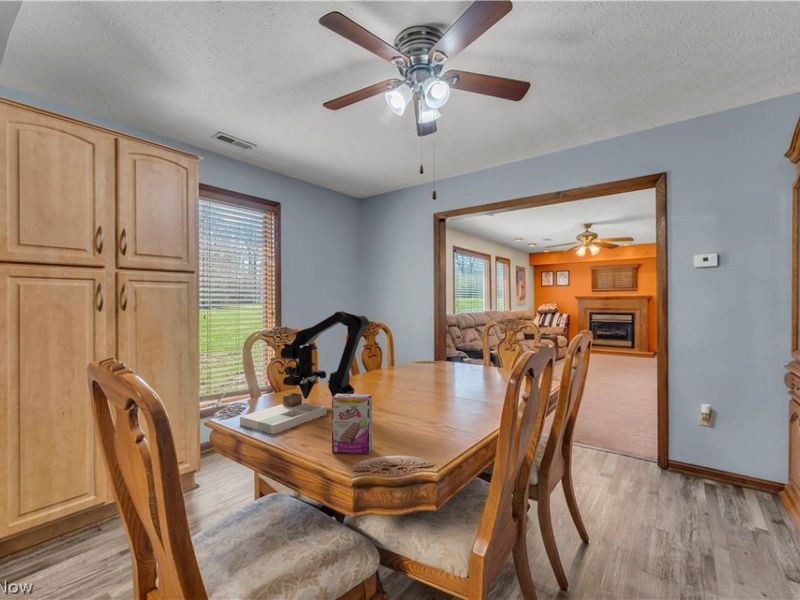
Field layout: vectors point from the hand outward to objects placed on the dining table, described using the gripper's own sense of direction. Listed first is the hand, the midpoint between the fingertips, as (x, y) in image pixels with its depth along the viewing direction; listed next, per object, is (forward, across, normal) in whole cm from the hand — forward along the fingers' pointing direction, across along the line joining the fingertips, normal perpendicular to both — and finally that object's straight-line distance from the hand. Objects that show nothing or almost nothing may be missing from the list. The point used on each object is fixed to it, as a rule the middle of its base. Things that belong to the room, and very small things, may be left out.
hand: (305, 398), depth 157 cm
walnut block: (+1, +7, 0) cm, 7 cm away
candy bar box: (+4, +24, +45) cm, 51 cm away
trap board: (+4, +15, +4) cm, 16 cm away
